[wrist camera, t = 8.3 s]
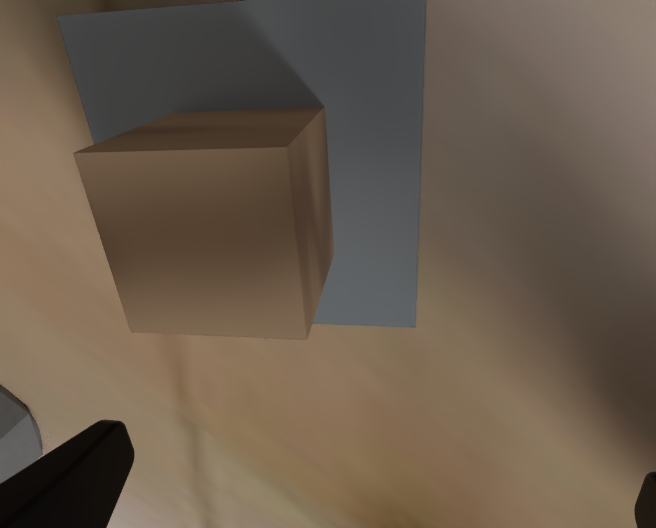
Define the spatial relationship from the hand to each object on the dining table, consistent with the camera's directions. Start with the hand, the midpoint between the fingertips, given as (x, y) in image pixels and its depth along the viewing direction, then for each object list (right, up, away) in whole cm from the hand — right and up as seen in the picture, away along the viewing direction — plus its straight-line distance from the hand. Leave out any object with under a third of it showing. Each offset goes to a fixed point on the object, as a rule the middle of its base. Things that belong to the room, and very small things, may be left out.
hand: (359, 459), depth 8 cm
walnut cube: (-3, +6, +8) cm, 10 cm away
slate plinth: (-3, +7, +10) cm, 12 cm away
